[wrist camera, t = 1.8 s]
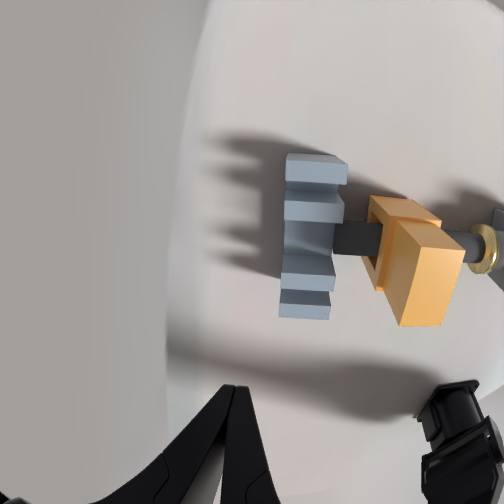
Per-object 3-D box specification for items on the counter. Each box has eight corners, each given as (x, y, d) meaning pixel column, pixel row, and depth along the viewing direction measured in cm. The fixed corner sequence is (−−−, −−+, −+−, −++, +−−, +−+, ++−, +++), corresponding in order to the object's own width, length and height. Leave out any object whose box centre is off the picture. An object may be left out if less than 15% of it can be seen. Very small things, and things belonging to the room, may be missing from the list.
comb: (335, 155, 17) (348, 164, 13) (323, 282, 21) (328, 319, 17) (288, 152, 17) (285, 160, 13) (282, 279, 21) (278, 316, 17)
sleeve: (413, 200, 17) (473, 247, 10) (402, 260, 19) (445, 328, 12) (369, 195, 17) (413, 241, 10) (361, 257, 19) (390, 329, 12)
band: (479, 218, 16) (504, 235, 13) (468, 260, 17) (490, 282, 14) (471, 217, 16) (496, 234, 13) (461, 260, 18) (482, 282, 14)
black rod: (504, 234, 15) (519, 244, 14) (497, 258, 16) (511, 270, 14) (334, 215, 17) (339, 226, 15) (331, 246, 18) (335, 259, 16)
